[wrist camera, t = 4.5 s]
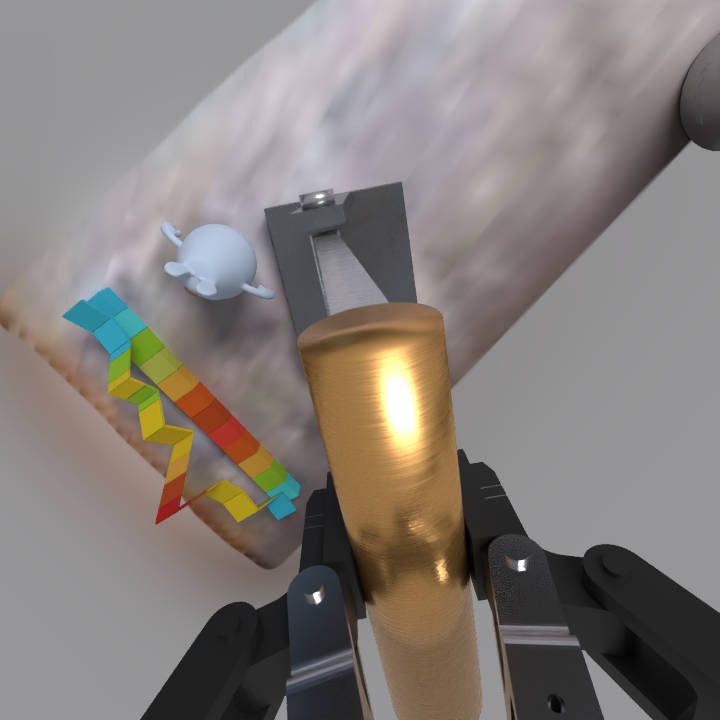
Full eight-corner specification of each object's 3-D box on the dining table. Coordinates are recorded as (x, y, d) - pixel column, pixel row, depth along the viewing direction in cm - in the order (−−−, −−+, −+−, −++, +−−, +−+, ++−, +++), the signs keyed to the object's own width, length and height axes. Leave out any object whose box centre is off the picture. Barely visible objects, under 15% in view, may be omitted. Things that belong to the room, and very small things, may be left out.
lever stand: (398, 171, 36) (423, 171, 22) (422, 352, 43) (452, 444, 29) (266, 198, 37) (205, 215, 23) (310, 371, 44) (286, 468, 30)
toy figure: (169, 246, 39) (94, 276, 28) (198, 188, 37) (129, 196, 26) (266, 309, 41) (232, 358, 31) (299, 258, 39) (275, 291, 28)
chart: (88, 304, 42) (-45, 368, 28) (110, 286, 41) (-16, 343, 27) (280, 495, 52) (252, 611, 38) (300, 484, 51) (278, 598, 37)
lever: (347, 226, 26) (466, 335, 7) (380, 403, 31) (498, 732, 12) (299, 235, 26) (295, 373, 7) (341, 412, 31) (401, 758, 12)
